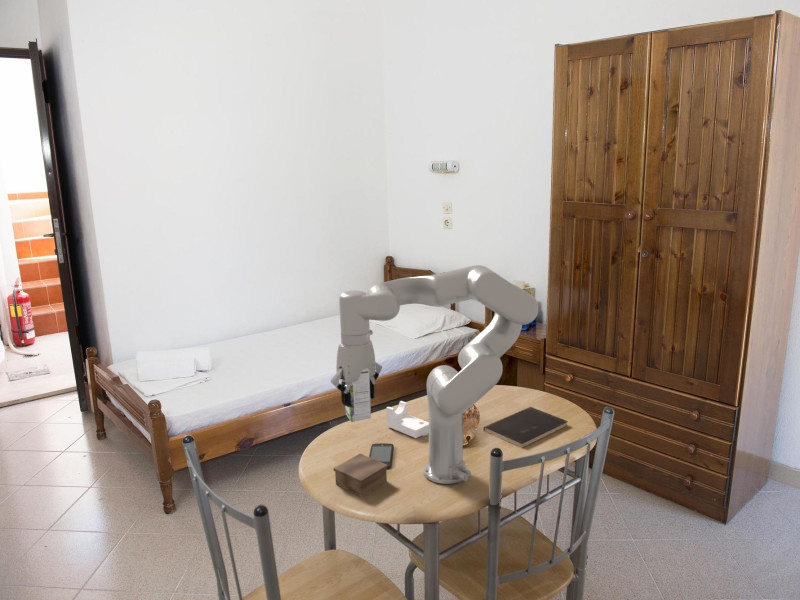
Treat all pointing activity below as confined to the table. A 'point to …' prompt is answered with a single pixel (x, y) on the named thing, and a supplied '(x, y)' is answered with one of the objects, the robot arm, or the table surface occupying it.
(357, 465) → the walnut box
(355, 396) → the syrup box
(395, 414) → the bracket
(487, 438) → the table surface
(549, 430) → the hardcover book
